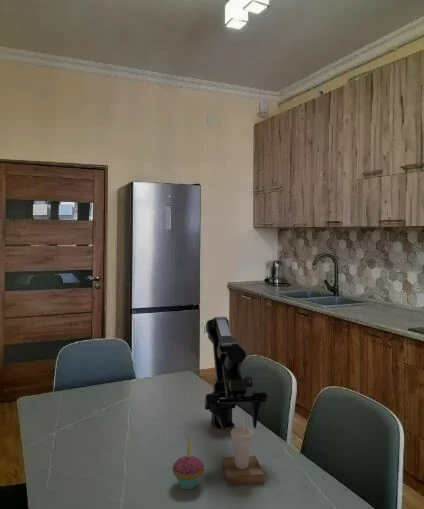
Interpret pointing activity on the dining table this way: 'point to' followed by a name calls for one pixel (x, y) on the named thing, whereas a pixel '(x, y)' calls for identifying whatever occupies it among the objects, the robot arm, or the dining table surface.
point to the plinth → (242, 472)
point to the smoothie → (241, 445)
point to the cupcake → (188, 469)
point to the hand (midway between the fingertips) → (239, 428)
